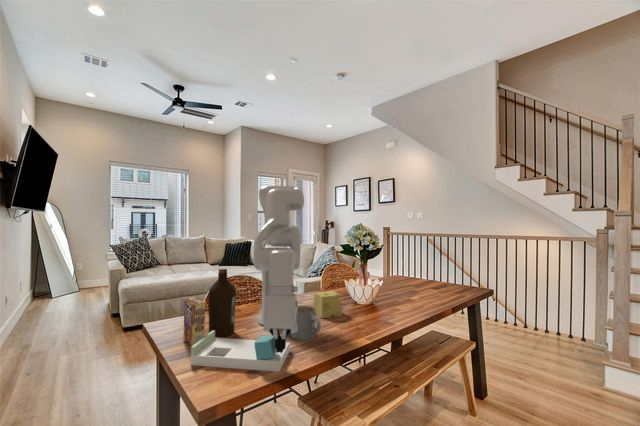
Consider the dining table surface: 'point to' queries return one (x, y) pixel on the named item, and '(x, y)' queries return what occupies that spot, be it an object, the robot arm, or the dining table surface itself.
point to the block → (265, 347)
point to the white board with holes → (234, 354)
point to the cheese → (327, 304)
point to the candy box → (194, 320)
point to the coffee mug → (306, 323)
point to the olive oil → (222, 306)
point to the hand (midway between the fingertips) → (280, 350)
